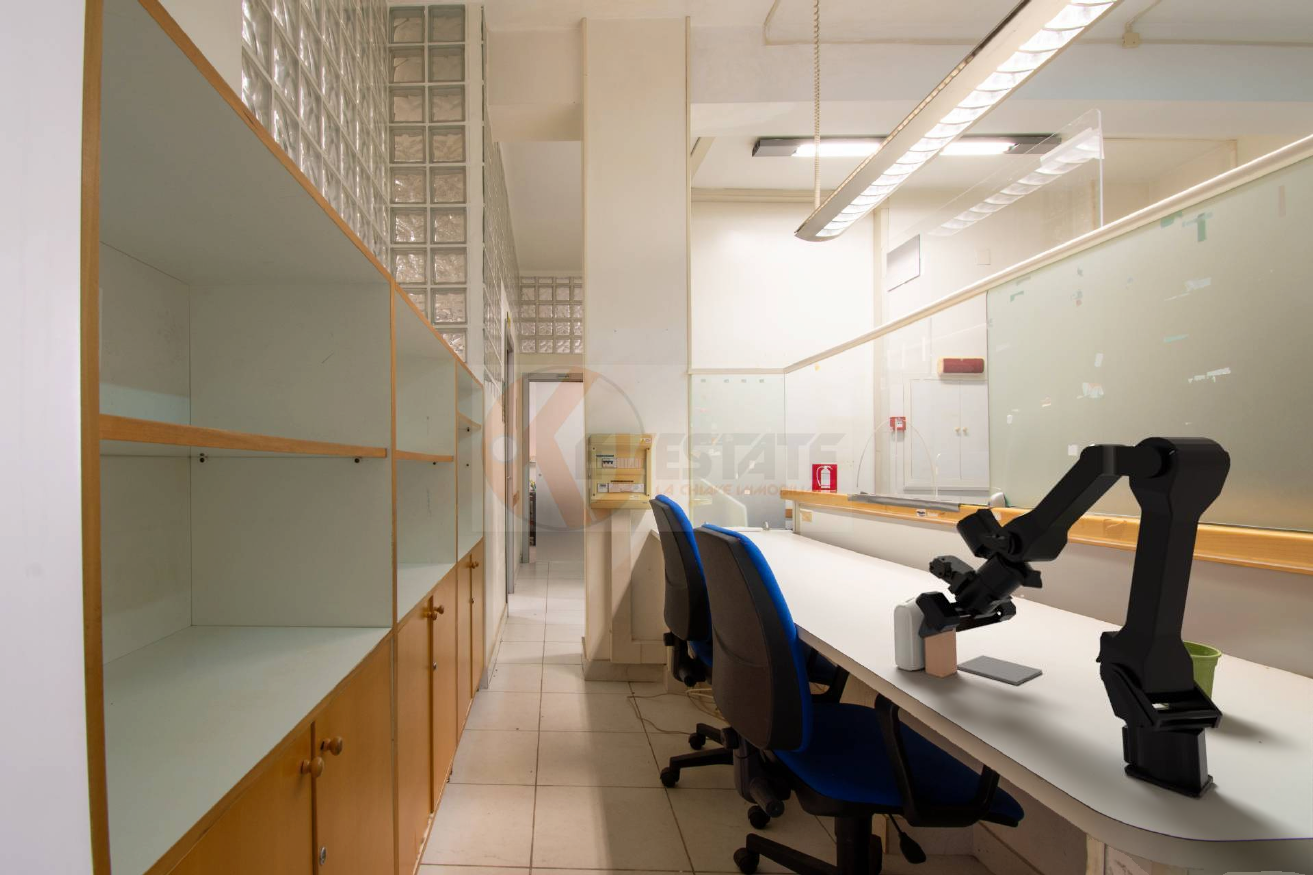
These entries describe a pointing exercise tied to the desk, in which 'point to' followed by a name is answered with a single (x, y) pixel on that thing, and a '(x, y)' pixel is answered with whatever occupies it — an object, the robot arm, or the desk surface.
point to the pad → (999, 669)
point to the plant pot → (1203, 665)
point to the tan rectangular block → (941, 654)
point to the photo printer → (908, 635)
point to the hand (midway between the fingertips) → (937, 632)
